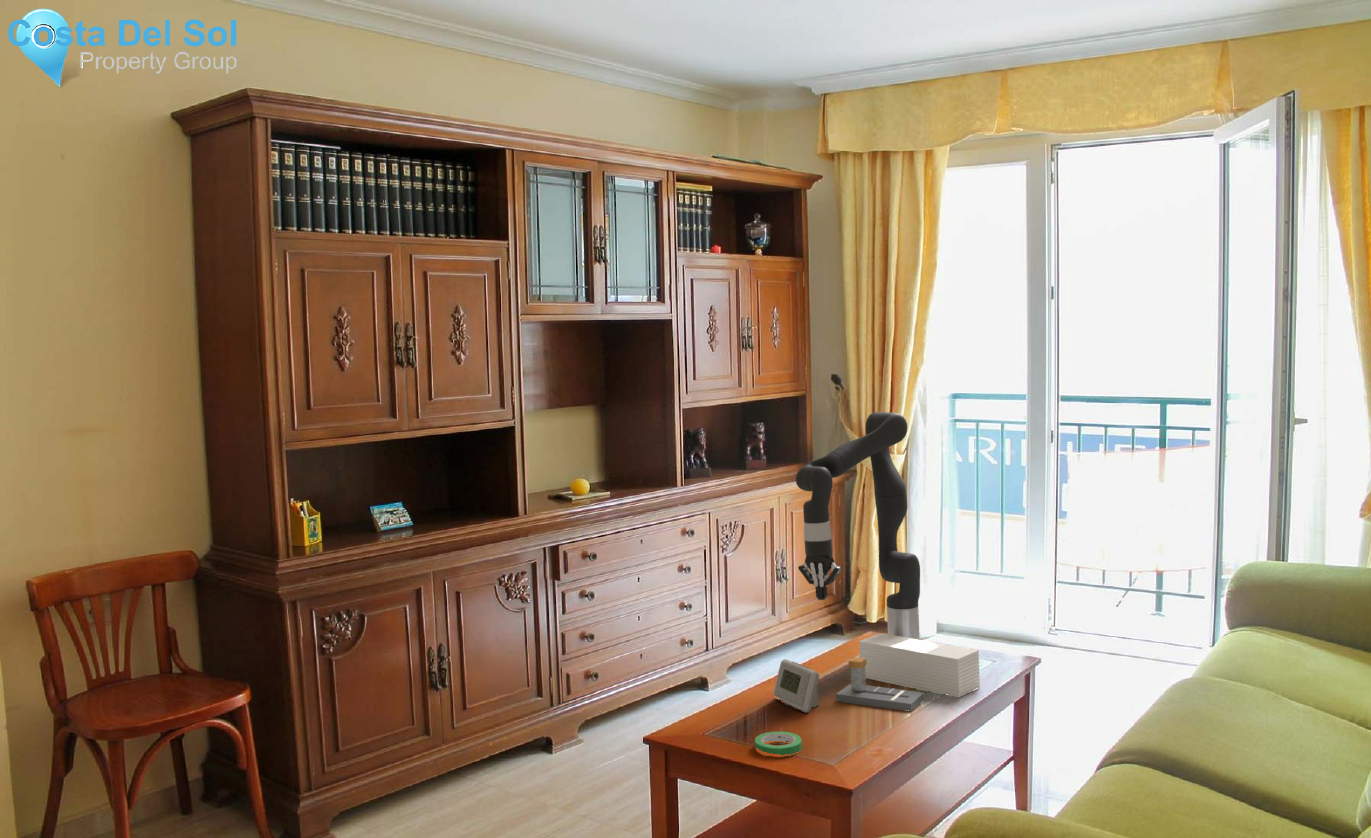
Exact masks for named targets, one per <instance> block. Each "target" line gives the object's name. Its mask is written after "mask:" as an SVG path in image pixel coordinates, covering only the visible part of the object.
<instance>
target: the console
mask: <svg viewBox="0 0 1371 838" xmlns="http://www.w3.org/2000/svg"><path fill="white" fill-rule="evenodd" d="M925 699H926V698H925V692H921V691H913V690H906V689H899V688H898V689H897V688H892V687H891V688H890V687H881V686H874V685H867V684H866V689H865V690H864V691H862V692H859V691H852V690H851V683H849V684H848V685H846V686H845V687H844V688H842V689H841V690H839V691H838V692H837V693H835V702H838V703H846V704H852V705H853V704H854V705H861V706H869V707H876V708H881V707H882V709H891V710H898V711H903V710H907V711H906V712H911V711H912V710H913V709H914V708H915V707H916V708H917V707H919V705H921V704H922V703H923V702H924V701H925ZM923 700H924V701H923ZM922 701H923V702H922ZM920 703H921V704H920ZM916 708H915V709H916ZM915 709H914V710H915ZM908 710H909V711H908ZM914 710H913V711H914ZM913 711H912V712H913Z"/></svg>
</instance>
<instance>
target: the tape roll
mask: <svg viewBox="0 0 1371 838" xmlns="http://www.w3.org/2000/svg"><path fill="white" fill-rule="evenodd" d="M769 741H783V742H789V743H790V744H780V745H774V744H765V743H764V742H769ZM802 744H803V741H802V738H801V737H800V735H798V734H796V733H793V732H789V731H780V730H779V731H770V732H769V731H768V732H764V733H761V734H759V735H757V736H756V737H755V739H754V747H755V746H756V748H758V749H759V750H761V751H763V752H767V753H770V754H771V753H773V754H780V755H785V754H787V755H788V754H793V753H796V752H799V751H800V750H801V749H802V750H803V745H802ZM802 750H801V751H802ZM799 753H800V752H799Z"/></svg>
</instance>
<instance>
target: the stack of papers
mask: <svg viewBox="0 0 1371 838" xmlns="http://www.w3.org/2000/svg"><path fill="white" fill-rule="evenodd" d="M858 642H859V643H858V644H859V658H866V663H867V665H866V666H865V674H866V679H869V680H873V681H876V682H877V681H878V682H881V683H886V684H893V685H897V686H901V687H905V688H910V689H914V688H916V689H915V690H919V691H925V692H928V691H931V692H930V693H933V692H935V693H934V694H938V693H940V694H939V695H942V694H948V695H950V696H949V697H952V696H955V697H954V698H956V697H961V696H962V695H964V694H967V693H969V692H970V691H973V690H974V689H976V688H979V687H980V688H981V686H980V685H981V678H980V676H981V675H980V673H981V672H980V654H979V652H980V651H979V649H975V648H974V649H973V648H968V647H964V646H958V645H951V644H946V643H940V642H934V641H929V640H924V639H923V640H922V639H920V640H918V639H912V638H906V637H901V636H895V635H889V634H888V633H882V632H880V633H878V634H874V635H872V636H868V637H867V638H864V639H861V640H859V641H858ZM980 688H979V689H980ZM973 692H974V691H973ZM969 694H970V693H969ZM967 695H968V694H967ZM961 698H962V697H961Z"/></svg>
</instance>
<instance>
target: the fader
mask: <svg viewBox="0 0 1371 838" xmlns="http://www.w3.org/2000/svg"><path fill="white" fill-rule="evenodd" d="M866 665H867V663H866V658H861V657H858V656H857V657H856V656H854V657H852V658H851V659H849V660H848V668H850V684H851V690H852V691H859V692H862V691H864V690H865V689H866V685H867V678H866V674H865V666H866Z"/></svg>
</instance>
